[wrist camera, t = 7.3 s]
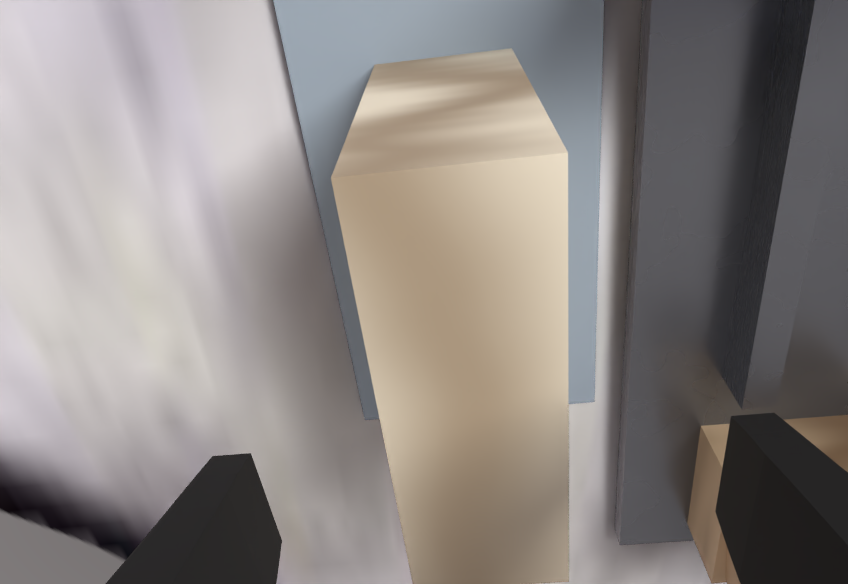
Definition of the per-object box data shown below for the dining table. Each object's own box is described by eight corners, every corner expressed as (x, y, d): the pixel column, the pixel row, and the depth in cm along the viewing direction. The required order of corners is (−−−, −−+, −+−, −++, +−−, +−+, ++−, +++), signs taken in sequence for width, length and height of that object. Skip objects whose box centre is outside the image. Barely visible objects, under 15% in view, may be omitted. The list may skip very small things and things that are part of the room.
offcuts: (917, 405, 21) (1039, 530, 17) (879, 511, 24) (976, 643, 20) (701, 421, 22) (766, 547, 17) (687, 523, 24) (740, 654, 20)
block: (511, 48, 16) (568, 152, 9) (525, 363, 21) (568, 581, 14) (374, 64, 16) (330, 177, 10) (421, 372, 22) (414, 590, 15)
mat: (602, -60, 15) (605, -59, 15) (592, 396, 22) (594, 401, 22) (272, -16, 16) (269, -15, 15) (365, 414, 23) (365, 420, 23)
